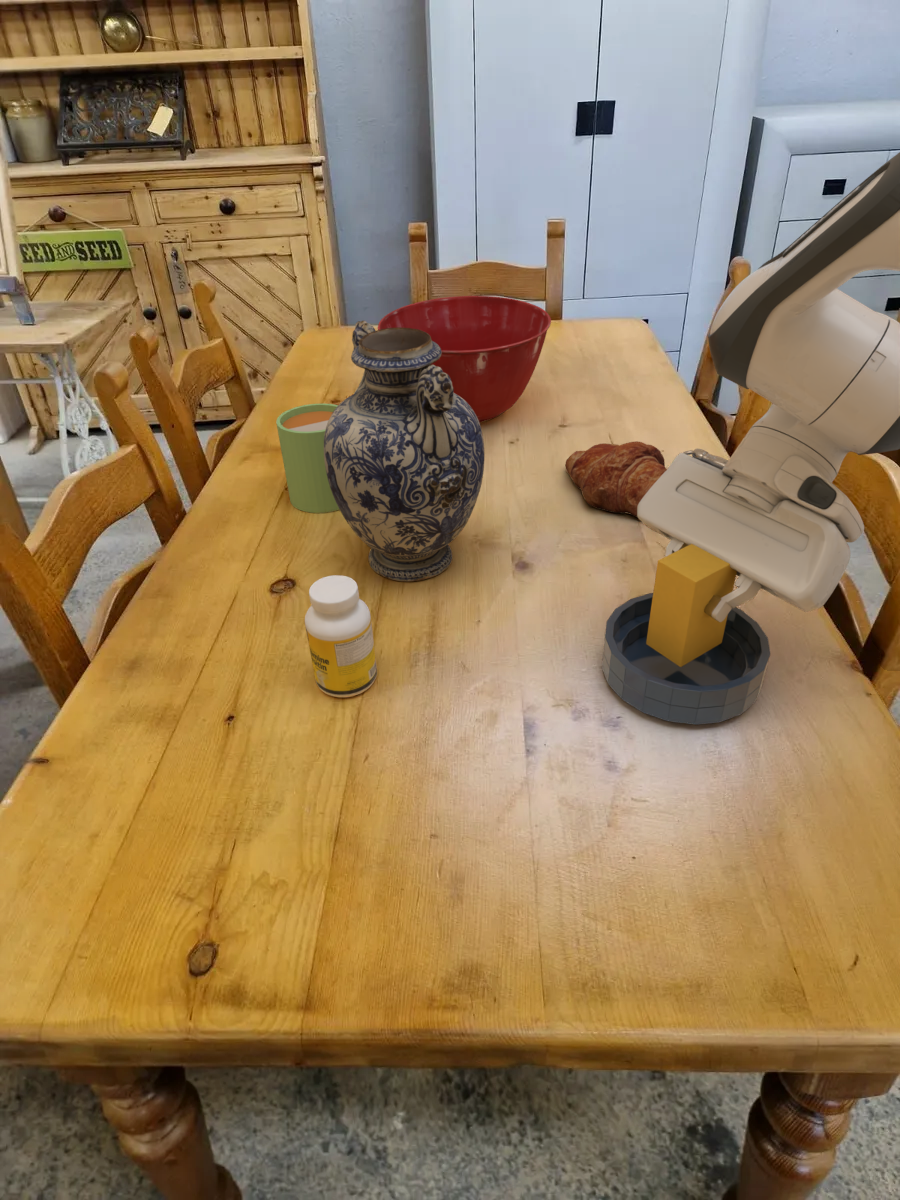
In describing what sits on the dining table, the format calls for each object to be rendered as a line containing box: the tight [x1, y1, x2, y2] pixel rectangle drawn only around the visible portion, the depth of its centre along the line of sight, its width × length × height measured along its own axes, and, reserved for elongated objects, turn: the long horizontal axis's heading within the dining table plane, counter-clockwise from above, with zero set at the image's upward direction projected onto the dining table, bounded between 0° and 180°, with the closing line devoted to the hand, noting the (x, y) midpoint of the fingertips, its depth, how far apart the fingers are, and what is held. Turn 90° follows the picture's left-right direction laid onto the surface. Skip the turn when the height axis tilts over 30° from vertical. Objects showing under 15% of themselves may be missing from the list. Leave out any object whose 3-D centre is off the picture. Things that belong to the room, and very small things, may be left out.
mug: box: [275, 403, 340, 514], centre depth 112 cm, size 13×10×12 cm
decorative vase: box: [324, 320, 485, 582], centre depth 92 cm, size 21×19×28 cm
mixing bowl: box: [377, 295, 552, 423], centre depth 135 cm, size 28×28×16 cm
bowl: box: [601, 592, 771, 726], centre depth 79 cm, size 16×16×5 cm
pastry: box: [564, 440, 668, 518], centre depth 109 cm, size 17×15×8 cm
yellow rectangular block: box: [646, 544, 737, 667], centre depth 76 cm, size 4×6×10 cm
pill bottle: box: [304, 574, 378, 698], centre depth 79 cm, size 6×6×12 cm
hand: (687, 602), depth 75 cm, fingers closed on yellow rectangular block, 4 cm apart
